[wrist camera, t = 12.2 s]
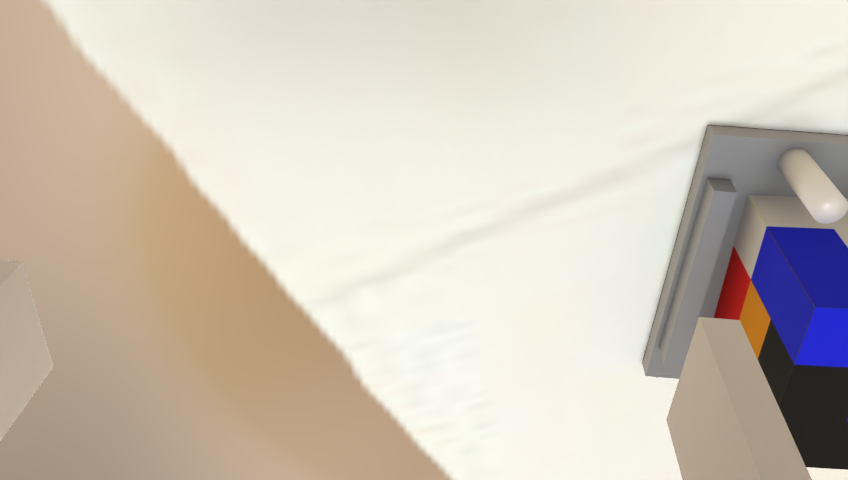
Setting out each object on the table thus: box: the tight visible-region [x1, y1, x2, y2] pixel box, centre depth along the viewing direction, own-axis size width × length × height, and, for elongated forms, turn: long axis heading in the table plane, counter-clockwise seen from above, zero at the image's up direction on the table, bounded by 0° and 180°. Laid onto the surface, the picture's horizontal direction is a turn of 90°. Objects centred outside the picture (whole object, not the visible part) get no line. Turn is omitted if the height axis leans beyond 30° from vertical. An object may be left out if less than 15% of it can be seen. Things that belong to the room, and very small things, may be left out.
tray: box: [642, 125, 848, 379], centre depth 42 cm, size 17×16×6 cm
